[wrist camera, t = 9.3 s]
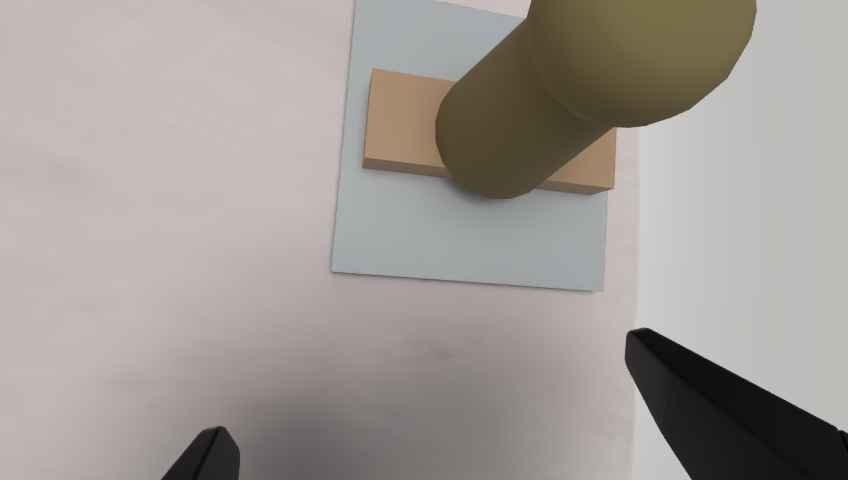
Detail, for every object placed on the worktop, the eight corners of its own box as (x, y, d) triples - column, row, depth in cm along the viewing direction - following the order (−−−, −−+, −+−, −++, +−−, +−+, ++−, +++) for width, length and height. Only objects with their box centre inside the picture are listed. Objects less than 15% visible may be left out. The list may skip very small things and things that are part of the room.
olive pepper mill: (570, 189, 20) (832, 98, 9) (447, 209, 19) (589, 130, 8) (545, 65, 20) (776, -164, 10) (423, 76, 19) (531, -171, 8)
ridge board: (592, 290, 23) (628, 293, 20) (331, 271, 21) (330, 271, 18) (602, 45, 25) (638, 14, 22) (356, -3, 22) (359, -45, 19)
